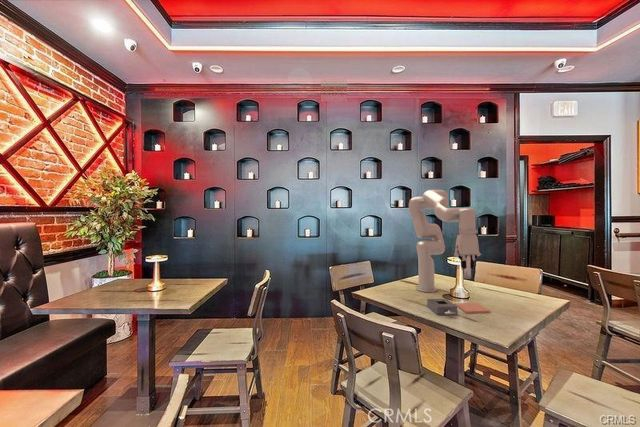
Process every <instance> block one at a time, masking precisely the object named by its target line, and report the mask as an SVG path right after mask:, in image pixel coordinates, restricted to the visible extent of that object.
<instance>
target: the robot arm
mask: <svg viewBox="0 0 640 427" xmlns="http://www.w3.org/2000/svg"><path fill="white" fill-rule="evenodd" d="M448 199H449V194H448V193H447V191H445V190H443V189H428V190H425V192H424V193H423V195H422V196H414V197H412V198H410V199H409V202H408V209H409V213H410V214H409V215H410V216H411V217H412V223H413V226H414V231H415V235H416V237H417V238H418V239H423V240H420V241H417V243H416V247H415V248H416V253H417V262H418V268H417V269H418V271H417V272H418V273H417V274H418V285H417V286H416V287H415V290H417V291H419V292H423V293H435V292H437V291H438V288H437V287H436V286H435V261H434V259H433V258H432V256H437V255H442V254H443V253H445V251H446V245H445V241H444V240H445V239H444V237H443V233H442V230H441V227H440V225H438V224H437V223H429V222H428V218H427V216H426V214H425V213H424V212H423V210H433V212H434V215H435V216H436V217H437V218H438V219H439V220H440V221H441V222H445V223H458V234H457V235H456V240H455V252H454V254H453V256H455V257H456V258H458V259H459V260H460V266H461V269H462V270H464V269H466V261H465V255H471V270H473V269H474V268H475V261H476V259H477V258H478V257H480V256H481V255H482V253H481V252H480V248H479V239H478V236H477V235H476V234H478V232H479V231H478V230H477V229H476V210H475V208H471V207H470V208H469V207H467V208H465V207H464V208H463V207H448V206H449V200H448Z"/></svg>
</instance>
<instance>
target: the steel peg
mask: <svg viewBox="0 0 640 427" xmlns="http://www.w3.org/2000/svg"><path fill="white" fill-rule="evenodd" d="M465 261H466V269H463V278H464V279H466V280H471V279H472V269H471V255H465Z"/></svg>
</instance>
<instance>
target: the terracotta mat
mask: <svg viewBox="0 0 640 427" xmlns="http://www.w3.org/2000/svg"><path fill="white" fill-rule="evenodd" d="M453 304H455V305H456V306H457V309H459V310H461V311H462V312H464V313H465V314H489V313H491V310H490V309H488V308H486V307H485V306H483V305H482V304H480V303H478V302H458V303H457V302H454V303H453Z"/></svg>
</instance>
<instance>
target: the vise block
mask: <svg viewBox="0 0 640 427" xmlns="http://www.w3.org/2000/svg"><path fill="white" fill-rule="evenodd" d="M426 307H427V308H428V309H429V310H431V311H432V312H433V313H434V314H435V315H436V316H447V315H448V316H450V315H451V316H452V315H456V316H457V315H458V307H457V306H456V305H455V304H454V303H453V302H451V301H450V300H449V299H447V298H427V299H426Z"/></svg>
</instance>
